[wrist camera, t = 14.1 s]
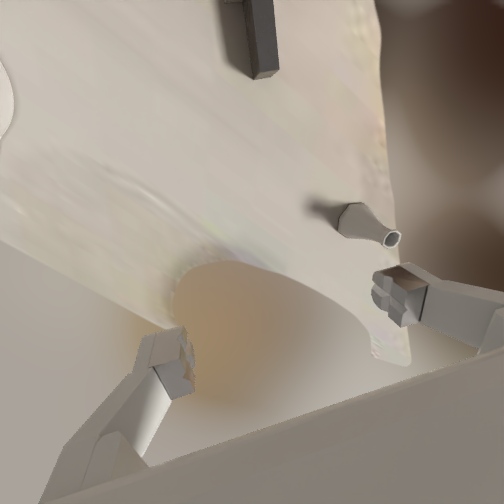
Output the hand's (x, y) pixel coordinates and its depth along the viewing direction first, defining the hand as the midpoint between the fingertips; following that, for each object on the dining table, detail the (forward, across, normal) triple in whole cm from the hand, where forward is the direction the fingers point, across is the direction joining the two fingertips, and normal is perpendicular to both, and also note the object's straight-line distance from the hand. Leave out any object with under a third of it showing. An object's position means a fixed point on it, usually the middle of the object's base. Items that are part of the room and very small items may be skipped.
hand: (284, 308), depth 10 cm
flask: (+31, -24, +12) cm, 41 cm away
